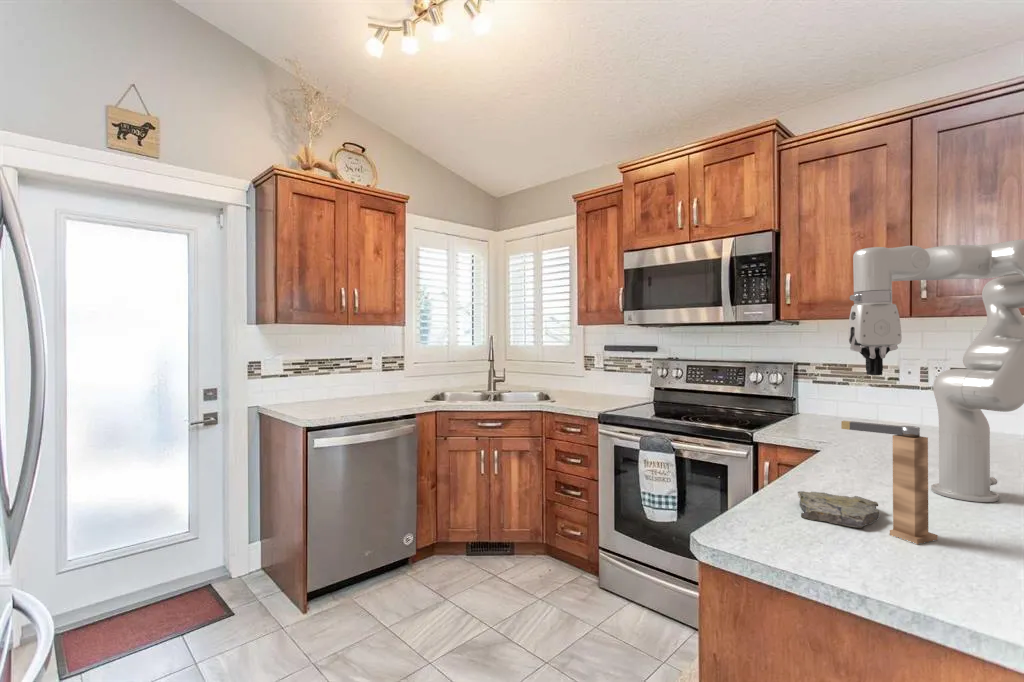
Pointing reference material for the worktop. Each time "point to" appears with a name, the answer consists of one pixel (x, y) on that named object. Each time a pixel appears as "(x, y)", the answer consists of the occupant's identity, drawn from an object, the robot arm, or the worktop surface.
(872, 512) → the stone
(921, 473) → the post
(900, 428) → the latch bar
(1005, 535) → the worktop surface
